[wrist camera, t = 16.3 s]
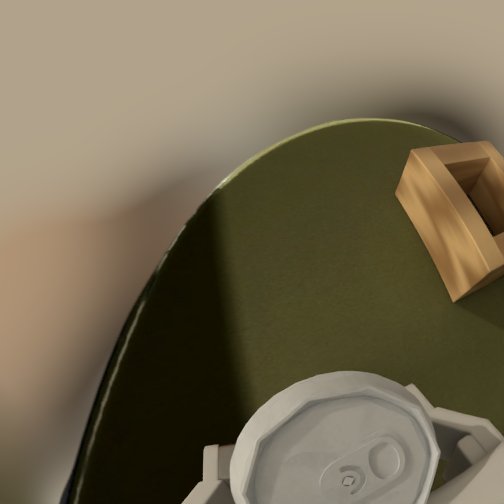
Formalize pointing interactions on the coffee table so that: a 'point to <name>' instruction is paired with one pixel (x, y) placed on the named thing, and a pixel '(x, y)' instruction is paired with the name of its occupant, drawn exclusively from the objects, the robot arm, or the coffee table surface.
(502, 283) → the coffee table surface
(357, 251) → the coffee table surface
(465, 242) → the holder
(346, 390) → the beer can
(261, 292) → the coffee table surface
